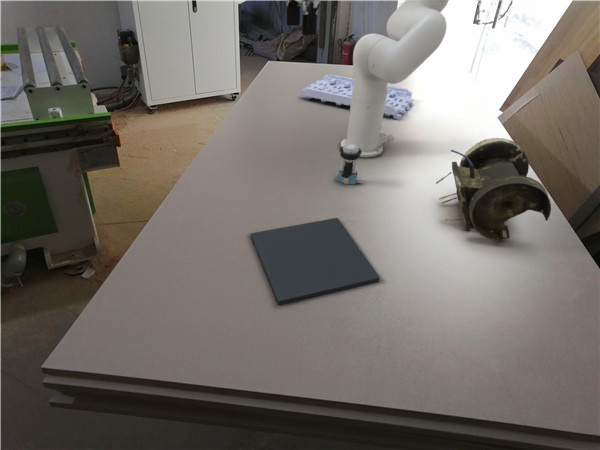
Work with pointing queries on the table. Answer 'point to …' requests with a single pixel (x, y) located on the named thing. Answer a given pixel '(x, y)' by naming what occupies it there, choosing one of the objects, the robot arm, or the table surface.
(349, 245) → the mat
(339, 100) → the ice tray
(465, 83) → the table surface
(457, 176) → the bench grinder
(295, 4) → the robot arm
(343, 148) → the push button
